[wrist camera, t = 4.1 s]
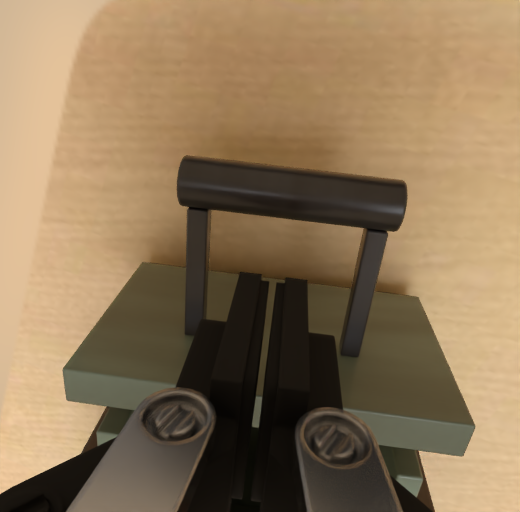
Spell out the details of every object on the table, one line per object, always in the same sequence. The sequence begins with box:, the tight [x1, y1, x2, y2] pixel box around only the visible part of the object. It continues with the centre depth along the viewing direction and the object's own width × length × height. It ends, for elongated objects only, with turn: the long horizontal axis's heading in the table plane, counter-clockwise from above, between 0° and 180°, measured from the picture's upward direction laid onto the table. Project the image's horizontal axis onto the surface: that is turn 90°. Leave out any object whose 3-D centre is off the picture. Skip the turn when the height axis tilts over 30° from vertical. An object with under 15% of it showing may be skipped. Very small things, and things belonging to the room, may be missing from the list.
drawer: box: [63, 155, 475, 512], centre depth 17 cm, size 19×11×7 cm, turn 175°
